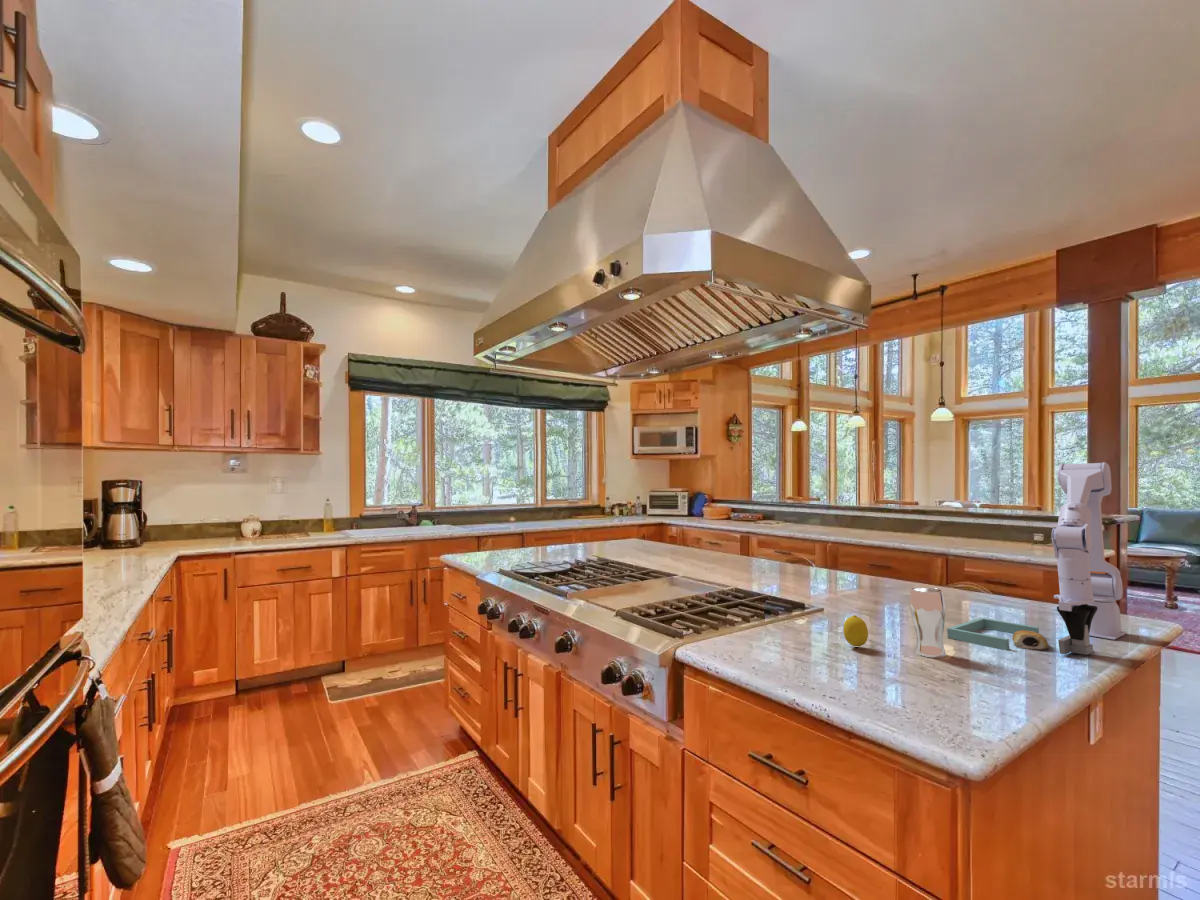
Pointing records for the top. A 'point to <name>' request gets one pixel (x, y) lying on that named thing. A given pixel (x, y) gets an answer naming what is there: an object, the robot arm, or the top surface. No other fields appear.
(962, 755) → the top surface
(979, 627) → the bay
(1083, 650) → the pusher
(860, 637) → the lemon
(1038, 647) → the pastry
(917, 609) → the beer glass
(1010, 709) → the top surface
